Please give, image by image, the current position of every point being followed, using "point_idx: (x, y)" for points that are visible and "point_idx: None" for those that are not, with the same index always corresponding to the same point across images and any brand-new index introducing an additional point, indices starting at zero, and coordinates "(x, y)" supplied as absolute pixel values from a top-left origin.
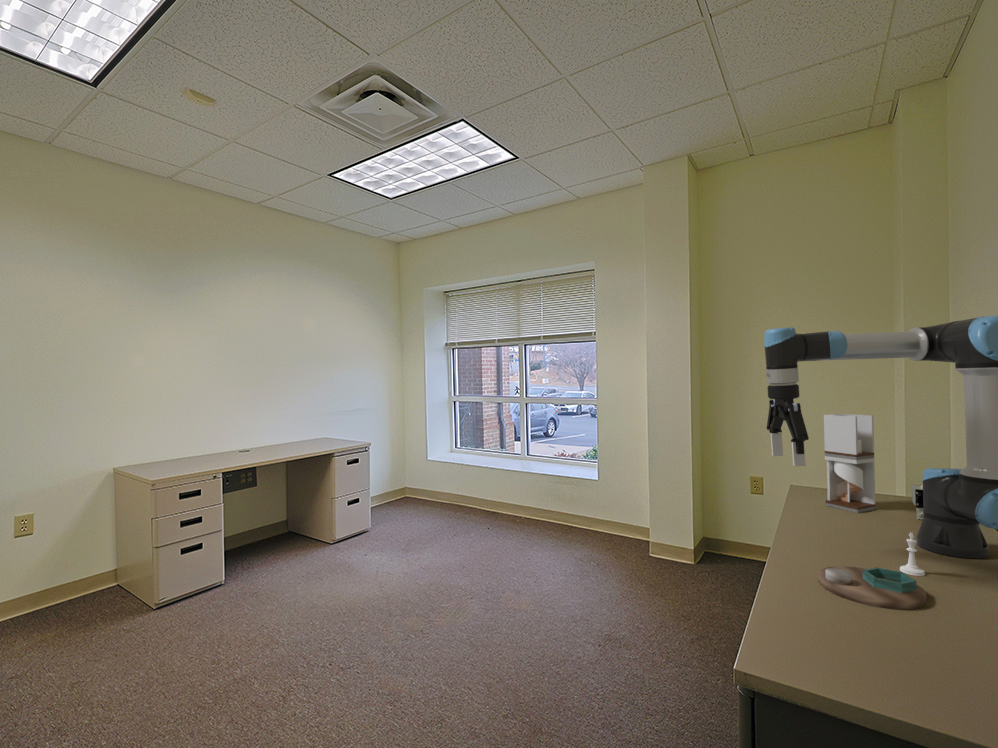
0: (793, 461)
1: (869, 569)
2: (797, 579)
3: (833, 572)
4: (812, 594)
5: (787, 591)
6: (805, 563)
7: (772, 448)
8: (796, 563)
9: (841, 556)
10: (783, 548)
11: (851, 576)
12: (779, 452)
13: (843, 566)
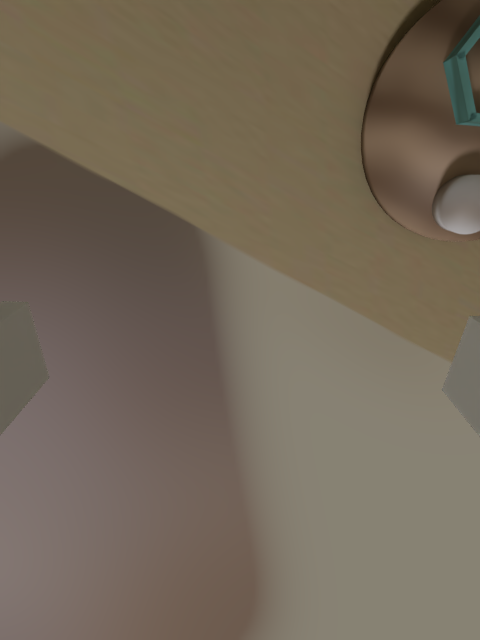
0: (473, 416)
1: (468, 94)
2: (396, 273)
3: (470, 218)
4: (475, 281)
5: (453, 322)
6: (296, 203)
7: (2, 427)
8: (296, 227)
9: (233, 52)
10: (182, 207)
11: (438, 149)
12: (14, 346)
13: (367, 127)
